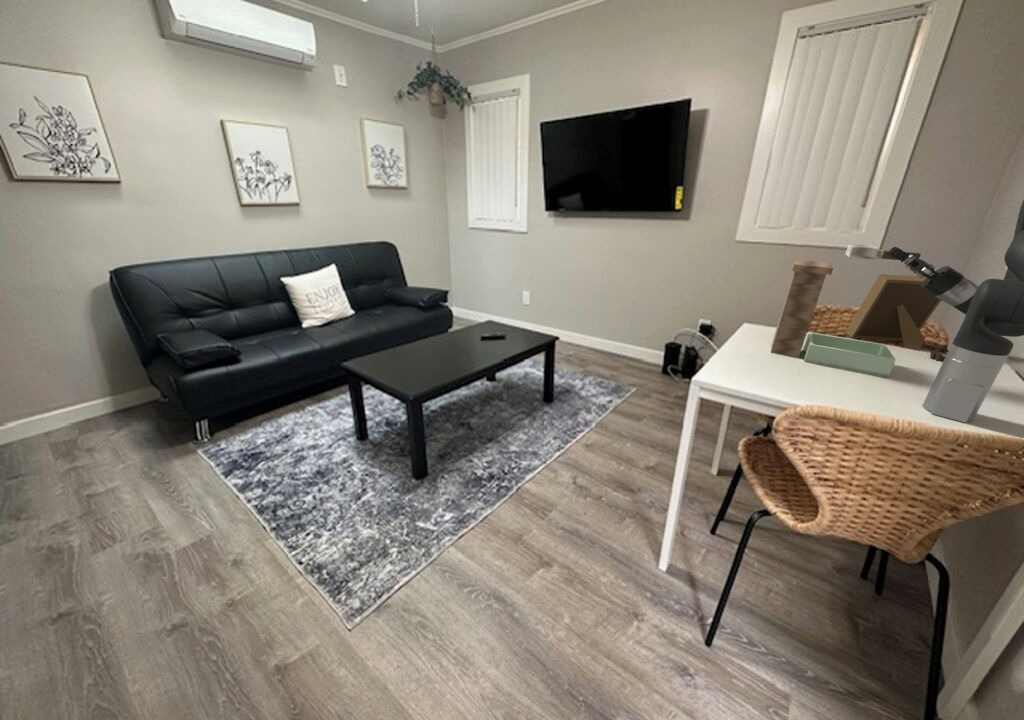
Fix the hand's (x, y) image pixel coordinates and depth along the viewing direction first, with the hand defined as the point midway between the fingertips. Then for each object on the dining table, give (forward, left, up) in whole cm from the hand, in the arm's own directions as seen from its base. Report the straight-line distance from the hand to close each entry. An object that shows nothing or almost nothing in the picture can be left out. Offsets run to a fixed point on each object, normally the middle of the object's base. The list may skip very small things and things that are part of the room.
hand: (892, 250), depth 117 cm
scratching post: (-3, +18, -36) cm, 40 cm away
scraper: (-1, +3, -3) cm, 4 cm away
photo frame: (+39, -9, -36) cm, 54 cm away
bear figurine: (+31, -26, -37) cm, 55 cm away
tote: (0, +2, -36) cm, 36 cm away
